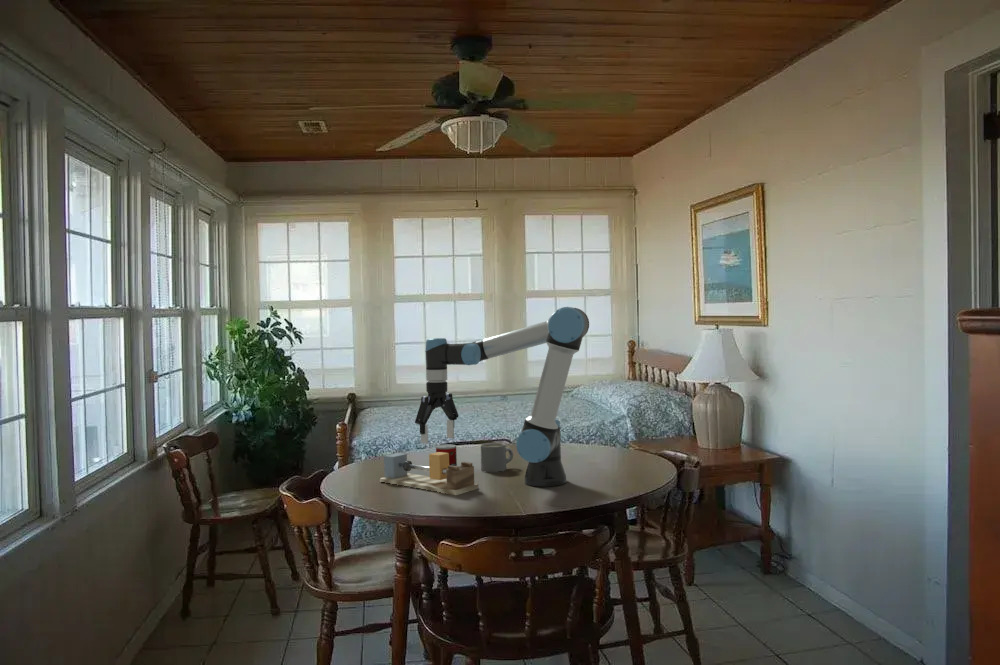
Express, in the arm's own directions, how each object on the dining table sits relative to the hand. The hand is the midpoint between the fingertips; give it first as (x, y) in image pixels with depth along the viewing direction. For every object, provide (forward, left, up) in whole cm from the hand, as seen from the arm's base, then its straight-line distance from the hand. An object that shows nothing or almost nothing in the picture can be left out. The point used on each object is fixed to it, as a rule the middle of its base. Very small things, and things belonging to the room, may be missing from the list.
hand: (437, 440), depth 253 cm
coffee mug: (+1, -35, -17) cm, 39 cm away
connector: (+22, 0, -15) cm, 27 cm away
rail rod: (+6, 0, -13) cm, 14 cm away
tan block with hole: (0, 0, -13) cm, 14 cm away
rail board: (+6, 0, -17) cm, 18 cm away
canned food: (+13, -18, -17) cm, 28 cm away
